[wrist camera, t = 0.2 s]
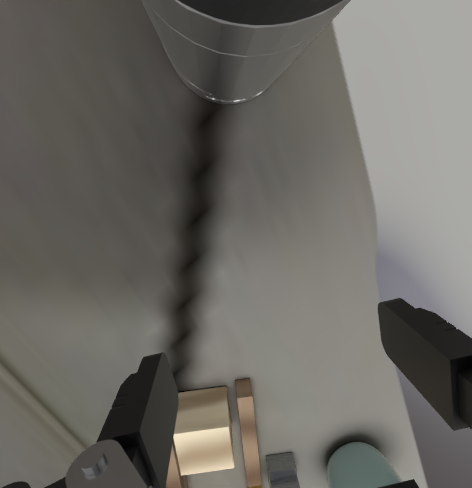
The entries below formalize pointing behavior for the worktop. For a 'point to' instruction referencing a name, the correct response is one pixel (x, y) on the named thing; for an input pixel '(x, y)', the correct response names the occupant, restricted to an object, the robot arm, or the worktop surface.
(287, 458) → the block
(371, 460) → the cup
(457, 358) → the robot arm
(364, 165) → the worktop surface
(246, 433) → the beam rails
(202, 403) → the block
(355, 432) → the worktop surface
